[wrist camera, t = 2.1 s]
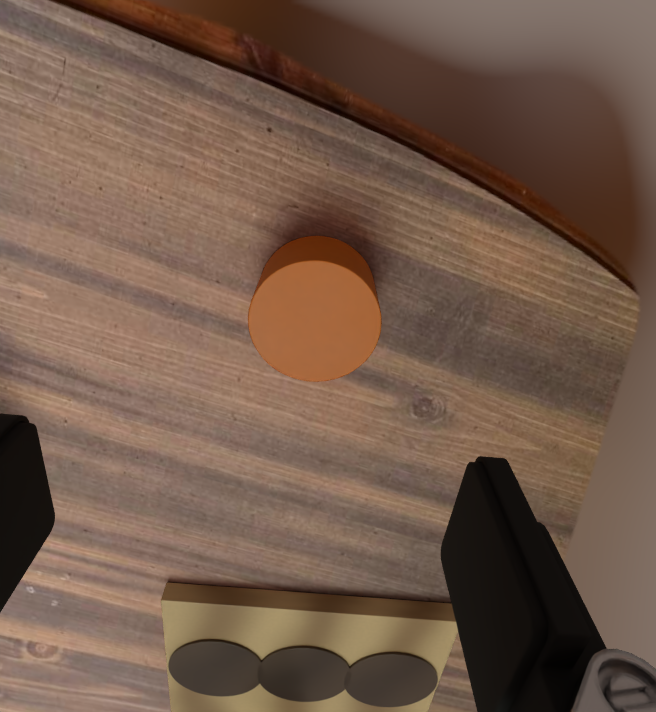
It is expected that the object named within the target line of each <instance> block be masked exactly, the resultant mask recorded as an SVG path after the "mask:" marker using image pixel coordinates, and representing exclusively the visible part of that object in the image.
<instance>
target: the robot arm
mask: <svg viewBox="0 0 656 712" xmlns="http://www.w3.org/2000/svg"><path fill="white" fill-rule="evenodd" d="M54 521H55V512H54V508H53V503H52V498H51V494H50V489H49V484H48V480H47V475H46V470H45V465H44V461H43V456H42V451H41V447H40V442H39V437H38V432H37V428H36V426H35V425H34V424H32V423H29V420H28V419H27V417H25V416H22V415H11V414H0V612H1V610H2V609H3V607H4V606H5V604H6V602H7V601H8V599H9V598H10V596H11V594H12V593H13V591H14V590H15V588H16V586H17V585H18V583H19V582H20V580H21V579H22V577H23V575H24V574H25V572H26V571H27V569H28V567H29V566H30V564H31V563H32V561H33V559H34V558H35V556H36V555H37V553H38V551H39V550H40V548H41V547H42V545H43V543H44V542H45V540H46V539H47V537H48V536H49V534H50V532H51V530H52V528H53V525H54ZM441 561H442V566H443V570H444V574H445V578H446V583H447V587H448V591H449V595H450V599H451V603H452V608H453V612H454V616H455V620H456V624H457V628H458V632H459V637H460V641H461V645H462V649H463V653H464V657H465V662H466V666H467V670H468V674H469V678H470V682H471V686H472V691H473V695H474V699H475V703H476V707H477V711H478V712H656V669H655V668H654V667H653V666H651V665H650V664H649V663H648V662H646V661H645V660H643V659H641V658H639V657H637V656H635V655H633V654H632V653H629V652H625V651H622V650H618V649H606V647H605V644H604V642H603V640H602V638H601V636H600V634H599V632H598V630H597V628H596V626H595V624H594V622H593V620H592V618H591V616H590V614H589V612H588V610H587V608H586V606H585V604H584V603H583V600H582V598H581V596H580V594H579V592H578V590H577V588H576V586H575V584H574V582H573V580H572V578H571V576H570V574H569V572H568V570H567V568H566V566H565V564H564V562H563V560H562V558H561V556H560V554H559V552H558V550H557V548H556V546H555V544H554V542H553V540H552V538H551V536H550V534H549V532H548V531H547V529H546V528H545V526H544V525H543V524H541V523H540V522H537V521H536V519H535V516H534V514H533V512H532V510H531V508H530V506H529V504H528V502H527V500H526V498H525V496H524V494H523V492H522V490H521V488H520V486H519V483H518V481H517V479H516V477H515V475H514V473H513V471H512V469H511V467H510V465H509V463H508V461H507V460H506V459H504V458H494V457H483V456H480V457H478V458H477V459H476V461H475V462H469V463H468V465H467V467H466V470H465V473H464V477H463V480H462V483H461V486H460V489H459V492H458V495H457V498H456V502H455V505H454V508H453V511H452V514H451V517H450V520H449V523H448V526H447V530H446V533H445V536H444V539H443V542H442V546H441Z"/></svg>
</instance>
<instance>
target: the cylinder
mask: <svg viewBox="0 0 656 712" xmlns="http://www.w3.org/2000/svg"><path fill="white" fill-rule="evenodd" d="M381 324H382V322H381V311H380V306H379V302H378V297H377V293H376V288H375V284H374V279H373V276H372V273H371V270H370V268H369V266H368V264H367V263H366V261H365V260H364V258H363V257H362V256H361V255H360V254H359V253H358V252H357V251H356V250H355V249H354V248H352V247H351V246H349V245H348V244H346V243H344V242H342V241H340V240H338V239H334V238H331V237H326V236H307V237H302V238H298V239H296V240H293V241H291V242H289V243H287V244H285V245H284V246H282V247H281V248H279V249H278V250H277V251H276V252H275V253H274V254H273V255H272V256H271V258H270V259H269V260H268V262H267V264H266V265H265V267H264V270H263V272H262V274H261V277H260V280H259V282H258V285H257V287H256V290H255V293H254V295H253V298H252V300H251V304H250V307H249V314H248V327H249V332H250V336H251V339H252V342H253V344H254V346H255V348H256V349H257V351H258V352H259V354H260V355H261V356H262V358H263V359H264V360H265V361H266V362H267V363H268V364H269V365H271V366H272V367H273V368H274V369H276V370H277V371H279V372H281V373H283V374H285V375H287V376H289V377H292V378H295V379H299V380H304V381H314V382H319V381H328V380H333V379H337V378H340V377H342V376H345V375H347V374H349V373H351V372H352V371H354V370H356V369H357V368H358V367H359V366H361V365H362V364H363V363H364V362H365V361H366V360H367V359H368V357H369V356H370V355H371V354H372V352H373V350H374V349H375V347H376V345H377V342H378V340H379V336H380V332H381Z"/></svg>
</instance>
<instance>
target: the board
mask: <svg viewBox="0 0 656 712" xmlns="http://www.w3.org/2000/svg"><path fill="white" fill-rule="evenodd" d="M161 606H162V617H163V628H164V639H165V650H166V661H167V672H168V683H169V694H170V705H171V712H428V709H429V706H430V704H431V701H432V699H433V696H434V693H435V691H436V688H437V685H438V683H439V680H440V677H441V675H442V672H443V669H444V667H445V664H446V661H447V659H448V656H449V653H450V651H451V648H452V646H453V643H454V640H455V638H456V635H457V632H458V628H457V624H456V620H455V616H454V612H453V608H452V604H451V603H438V602H424V601H411V600H397V599H384V598H371V597H357V596H344V595H330V594H317V593H303V592H290V591H276V590H263V589H249V588H236V587H223V586H209V585H196V584H182V583H169V582H167V584H166V587H165V590H164V593H163V596H162V599H161Z"/></svg>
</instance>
